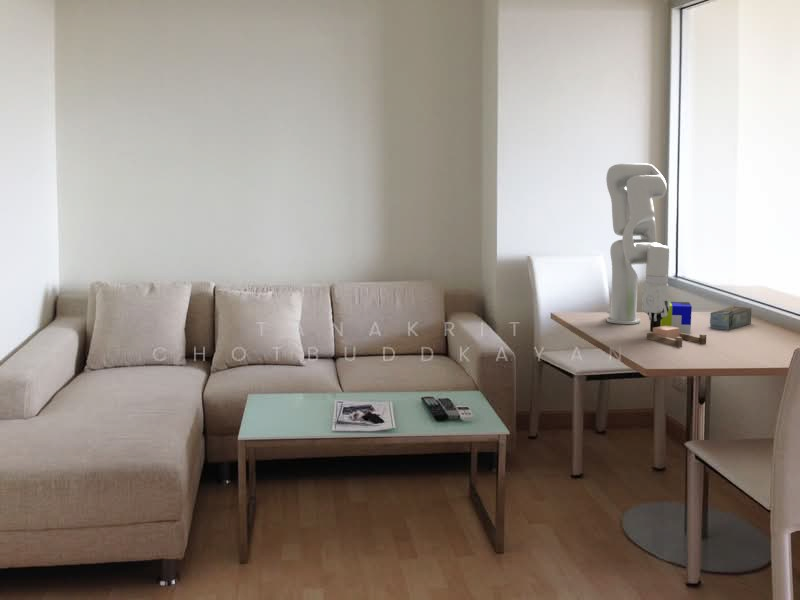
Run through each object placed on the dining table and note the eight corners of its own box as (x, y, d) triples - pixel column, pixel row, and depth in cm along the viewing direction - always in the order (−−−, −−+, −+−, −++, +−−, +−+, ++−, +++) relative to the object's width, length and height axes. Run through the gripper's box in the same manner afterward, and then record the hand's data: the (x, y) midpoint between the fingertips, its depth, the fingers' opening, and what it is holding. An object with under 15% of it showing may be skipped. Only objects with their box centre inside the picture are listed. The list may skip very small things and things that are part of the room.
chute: (646, 338, 336) (646, 329, 336) (673, 335, 341) (673, 327, 341) (678, 346, 322) (678, 337, 321) (706, 343, 327) (706, 334, 327)
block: (652, 338, 337) (652, 327, 336) (665, 336, 341) (666, 325, 340) (666, 341, 332) (666, 330, 331) (679, 339, 336) (679, 328, 335)
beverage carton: (708, 328, 357) (709, 310, 356) (732, 321, 371) (733, 304, 370) (728, 330, 352) (729, 313, 351) (752, 324, 365) (753, 307, 364)
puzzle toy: (690, 334, 345) (691, 306, 343) (661, 332, 347) (662, 305, 345) (687, 329, 354) (689, 302, 353) (659, 328, 356) (661, 301, 355)
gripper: (634, 278, 343) (632, 329, 346) (663, 283, 330) (661, 335, 333) (651, 277, 346) (649, 327, 349) (680, 282, 333) (677, 334, 336)
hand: (655, 331), depth 341 cm, fingers closed
